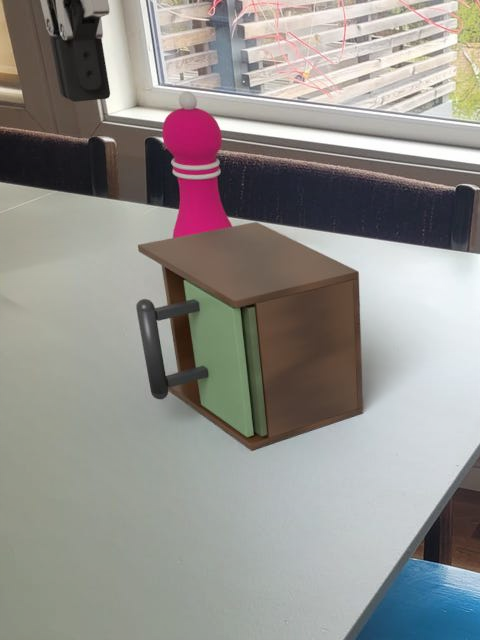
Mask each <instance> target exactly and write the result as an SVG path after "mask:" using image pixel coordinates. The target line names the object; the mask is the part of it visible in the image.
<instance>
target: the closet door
mask: <svg viewBox="0 0 480 640" xmlns="http://www.w3.org/2000/svg"><path fill="white" fill-rule="evenodd" d="M184 287H185V294H186V301H184V302H179V303H175V304H171V305H168V304H166V305H163V306H158V307H155V305H154V303H153V302H152V301H151V300H150V299H147V298H142V299H139V300H138V302H137V303H136V306H135V308H136V315H137V320H138V325H139V332H140V338H141V342H142V343H141V344H142V349H143V354H144V361H145V366H146V371H147V377H148V382H149V389H150V393H151V396H152V397H153V398H154V399H157V400H164V399H166V398H167V396H168V394H169V390H168V387H169V388H170V387H174V386H177V385H181V384H184V383H188V382H191V381H195V380H198V386H199V393H200V400H201V405H203V406H204V407H205V408H207V409H208V410H210V411H211V412H212V413H214V414H215V415H217V416H218V417H219V418H221V419H222V420H224V421H225V422H226V423H228V424H229V425H231V426H232V427H233V428H235V429H236V430H238V431H239V432H240V433H242V434H243V435H245V436H246V437H250V436H253V435H254V431H253V422H252V413H251V404H250V394H249V385H248V376H247V366H246V357H245V348H244V338H243V329H242V320H241V311H240V307H239V308H234V307H233V306H231V305H229V304H227V303H226V302H224V301H222V300H221V299H219V298H217V297H215V296H214V295H212V294H210V293H209V292H207V291H205V290H204V289H202V288H200V287H198V286H197V285H195V284H193V283H192V282H190V281H188V280H184ZM185 314H188V315H189V322H190V329H191V336H192V343H193V350H194V357H195V364H196V368H192V369H189V370H185V371H182V372H178V371H177V372H174V373H172V374H167V375H166V369H165V363H164V357H163V351H162V345H161V339H160V332H159V328H158V327H159V326H158V321H164V320H168V319H170V318H172V317H177V316H181V315H185Z"/></svg>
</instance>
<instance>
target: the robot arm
mask: <svg viewBox="0 0 480 640" xmlns="http://www.w3.org/2000/svg"><path fill="white" fill-rule="evenodd" d="M39 1H40V5H41V6H40V7H41V10H42V14H43V18H44V22H45V27H46V30H47V32H48V35H50V36H49V39H50V44H51V45H50V46H51V50H52V55H53V59H54V65H55V70H56V76H57V81H58V87H59V92H60V95H61V96H62V97H63V98H65V99H68V100H69V101H72V102H74V103H75V102H86V101H87V102H88V101H98V100H107V99H109V98H110V96H111V89H110V83H109V77H108V71H107V64H106V58H105V52H104V46H103V45H104V44H103V38H104V37H103V36H104V31H103V23H102V22H103V21H102V17H105V16H108V15H109V14H110V4H109V0H39Z"/></svg>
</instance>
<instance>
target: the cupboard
mask: <svg viewBox="0 0 480 640" xmlns="http://www.w3.org/2000/svg"><path fill="white" fill-rule="evenodd" d="M232 226H233V227H228V228H223V229H217V230H212V231H207V232H202V233H197V234H192V235H186V236H181V237H176V238H173V237H172V238H171V237H170V238H165V239H161V240H156V241H150V242H146V243H140V244H137V249H138V252H139V253H140V254H142V255H144V256H146V257H148V258H149V259H150V260H153V261H154V262H155V263H157V264H159V265H161V270H162V277H163V284H164V289H165V290H164V291H165V297H166V305H171V304H175V303H179V302H184V301H186V294H185V287H184V280H188V281H190V282H192V283H193V284H195V285H197V286H198V287H200V288H202V289H204V290H205V291H207V292H209V293H210V294H212V295H214V296H215V297H217V298H219V299H221V300H222V301H224V302H226V303H227V304H229V305H231V306H233V307H234V308H239V307H240V311H241V320H242V329H243V338H244V348H245V357H246V366H247V376H248V385H249V394H250V404H251V413H252V422H253V431H254V435H253V436H250V437H246V436H245V435H243V434H242V433H240V432H239V431H238V430H236V429H235V428H233V427H232V426H231V425H229V424H228V423H226V422H225V421H224V420H222V419H221V418H219V417H218V416H217V415H215V414H214V413H212V412H211V411H210V410H208V409H207V408H205V407H204V406H203V405H201V400H200V393H199V386H198V380H195V381H191V382H188V383H184V384H181V385H177V386H174V387H170V388H169V387H168V392H170V393H171V394H172V395H174V396H175V397H177V398H178V399H179V400H181V401H182V402H183V403H185V404H187V405H188V407H191V408H192V409H193V410H195V412H197V413H199V414H200V415H202V416H203V417H204V418H205V419H207V420H208V421H210V422H211V423H213V424H214V425H215V426H217V427H218V428H220V429H221V430H222V431H224V432H225V433H227V435H229V436H231V437H232V439H233V438H234V439H235V440H236V441H237V442H239V443H240V444H242V445H243V446H244V447H246V448H247V449H248V450H250V451H255V450H257V449H260V448H263V447H266V446H269V445H273V444H275V443H278V442H281V441H284V440H287V439H290V438H294V437H296V436H299V435H303V434H304V433H307V432H311V431H314V430H317V429H320V428H322V427H325V426H328V425H332V424H335V423H338V422H341V421H344V420H347V419H350V418H352V417H356V416H359V415H361V414H364V398H363V366H362V334H361V333H362V332H361V329H362V328H361V299H360V297H361V296H360V273H359V271H358V270H357V269H354V268H353V267H350V266H348V265H346V264H345V263H342V262H340V261H338V260H335V259H334V258H331V257H330V256H327V255H326V254H324V253H321V252H319V251H317V250H315V249H313V248H311V247H309V246H307V245H305V244H303V243H300V242H299V241H297V240H295V239H293V238H291V237H288V236H286V235H284V234H282V233H280V232H278V231H276V230H273V229H272V228H270V227H267V226H265V225H263V224H261V223H259V222H257V221H254V222H250V223H244V224H238V225H232ZM169 322H170V329H171V330H170V331H171V337H172V342H173V349H174V356H175V361H176V368H177V373H178V372H182V371H185V370H189V369H192V368H196V364H195V357H194V350H193V343H192V336H191V329H190V322H189V315H188V314H185V315H181V316H177V317H172V318H169Z"/></svg>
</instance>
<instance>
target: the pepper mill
mask: <svg viewBox="0 0 480 640" xmlns="http://www.w3.org/2000/svg"><path fill="white" fill-rule="evenodd" d="M178 103H179V105H180V107H181V108H177V109H175V110H173V111H171V112H170V113H169V114H168V115H167V116H166V117H165V119H164V121H163V125H162V139H163V144H164V147H165V148H166V149H167V151H168V152H169V153H170V154H171V155H172V156H173V158H172V159H171V162H170V164H171V165H172V174H173V175H174V176H175V177H177V182H178V187H179V206H178V213H177V216H176V221H175V224H174V228H173V233H172V238H176V237H181V236H186V235H192V234H197V233H202V232H207V231H212V230H217V229H223V228H228V227H233V226H234V225H232V223H231V221H230V219H229V217H228V215H227V213H226V211H225V209H224V206H223V204H222V200H221V196H220V191H219V183H218V181H219V180H218V176H220V174H221V172H222V171H221V168H220V163H221V162H220V160H219V159H218V158H217V154H218V152H219V151H220V150H221V148H222V143H223V138H222V137H223V135H222V132H221V128H220V126H219V124H218V121H217V120H216V119H215V117H214V116H213V115H211V114H210V113H209V112H207V111H206V110H204V109H201V108H197V105H198V100H197V97H196V96H195V95H194V93H193V92H191V91H187V90H185V91H183V92H181V93H180V95H179V97H178Z"/></svg>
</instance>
